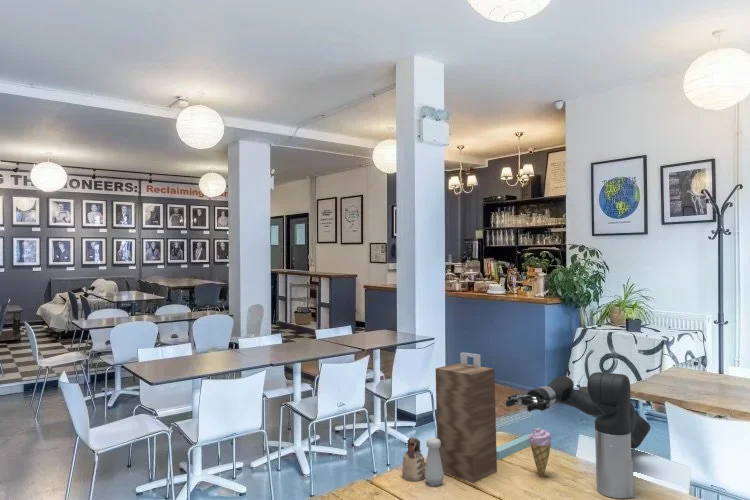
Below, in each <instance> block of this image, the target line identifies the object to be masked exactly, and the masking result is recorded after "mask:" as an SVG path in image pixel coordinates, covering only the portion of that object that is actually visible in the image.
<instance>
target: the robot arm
mask: <svg viewBox="0 0 750 500" xmlns="http://www.w3.org/2000/svg"><path fill="white" fill-rule="evenodd" d="M574 386H575V384H574V381H573V379H571V378H570V377H569V376H565V375H563V376H562V375H560V376H557V377H555V378H554V379H553V380H552V381H550V383H548V384H547V385H544V386H543V385H542V386H539V387H535V388H533V389H530V390H529V391H528V392H527V393H526V394H525V395H520V394H518V393H516V394H512V395H509V396H507V400H505V406H506V407H507V408H509V407H512V406H518V407H526V410H527V412H532V411H541V412H543V411H545V410H548V409H550V406H552V405H553V404H557V403H558V404H562V405H567V406H569V407H574V408H576V409H577V410H579V411H581V412H582V413H584V414H586V415H589V416H592V417H594V416H595V417H596V418H595V419H594V441H595V443H594V444H595V445H594V446H595V448H594V449H595V470H596V472H595V473H596V476H595V477H596V478H595V479H596V491H597V492H598V493H599V494H601V495H603V496H606V497H609V498H614V499H628V498H631V499H632V498H633V499H634V498H635V483H634V482H635V481H634V463H633V460H632V450H633V449H634V450H635V449H637V448H639V446H641V444H642V443H643V441H644V440H645V439H646V437H647V436H648V434H649V433H650V431H651V425H650V423H649V422H648V421H647V420H646V419H644V418H643V416H640V415H639V414H637V411H636V409H635V407H634V405H633V403H632V401H631V383H630V379H629V377H628V376H627V375H625V374H622V373H613V372H602V371H597V372H592V373H591V374H590V375H589V377H588V379H587V384H586V387H587V388H586V389H587V392H586V391H585V390H582V389H575V390H574Z"/></svg>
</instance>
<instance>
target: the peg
mask: <svg viewBox="0 0 750 500" xmlns="http://www.w3.org/2000/svg"><path fill="white" fill-rule="evenodd" d="M529 434H532V432H530V433H527V434H525V435H522V436H520V437H517V438H515V439H512V440H510V441H507V442H506V443H504V444H501V445H499V446H496V453H497V461H499V460H502V459H505V458H507V457H508V456H511V455H513V454H515V453H517V452H520V451H522V450H524V449H526V448H528V447H531V444H530V441H529V439H530V437H527V436H528V435H529Z"/></svg>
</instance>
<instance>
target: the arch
mask: <svg viewBox="0 0 750 500" xmlns="http://www.w3.org/2000/svg"><path fill="white" fill-rule="evenodd" d="M459 354H460V363H461V366H463V367H466V366H468V365H469V364H468V358H469V357H470V358H473V365H474V368H475V369H480V368H481V367H482V366H481V354H480V353H479V354H478V353H471V352H464V351H463V352H460V353H459ZM467 364H468V365H467Z"/></svg>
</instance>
